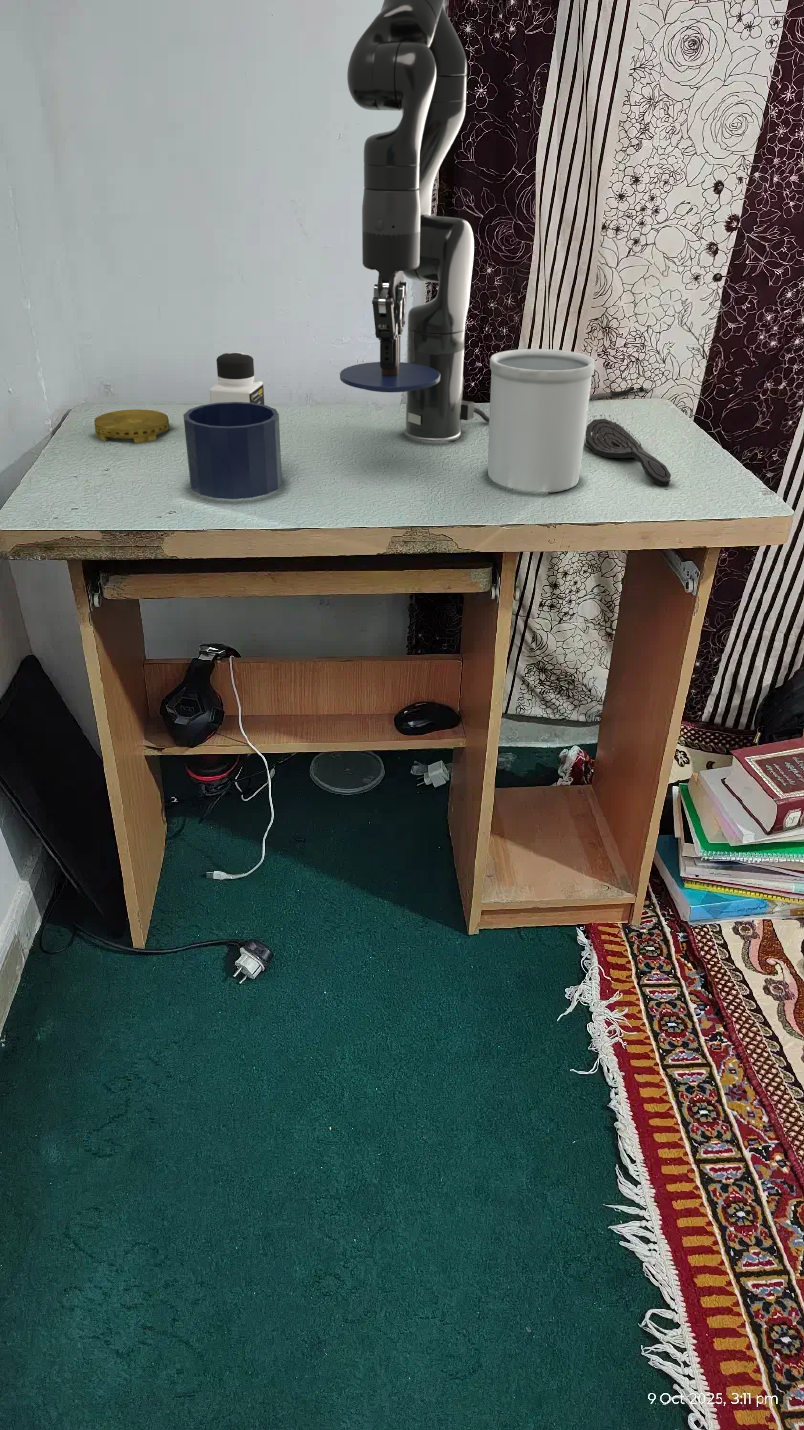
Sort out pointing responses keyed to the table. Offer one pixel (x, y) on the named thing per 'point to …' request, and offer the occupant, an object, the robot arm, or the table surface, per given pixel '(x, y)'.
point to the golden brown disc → (131, 425)
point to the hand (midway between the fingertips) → (390, 365)
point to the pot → (233, 449)
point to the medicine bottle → (236, 380)
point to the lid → (390, 376)
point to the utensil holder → (538, 418)
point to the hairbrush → (624, 448)
